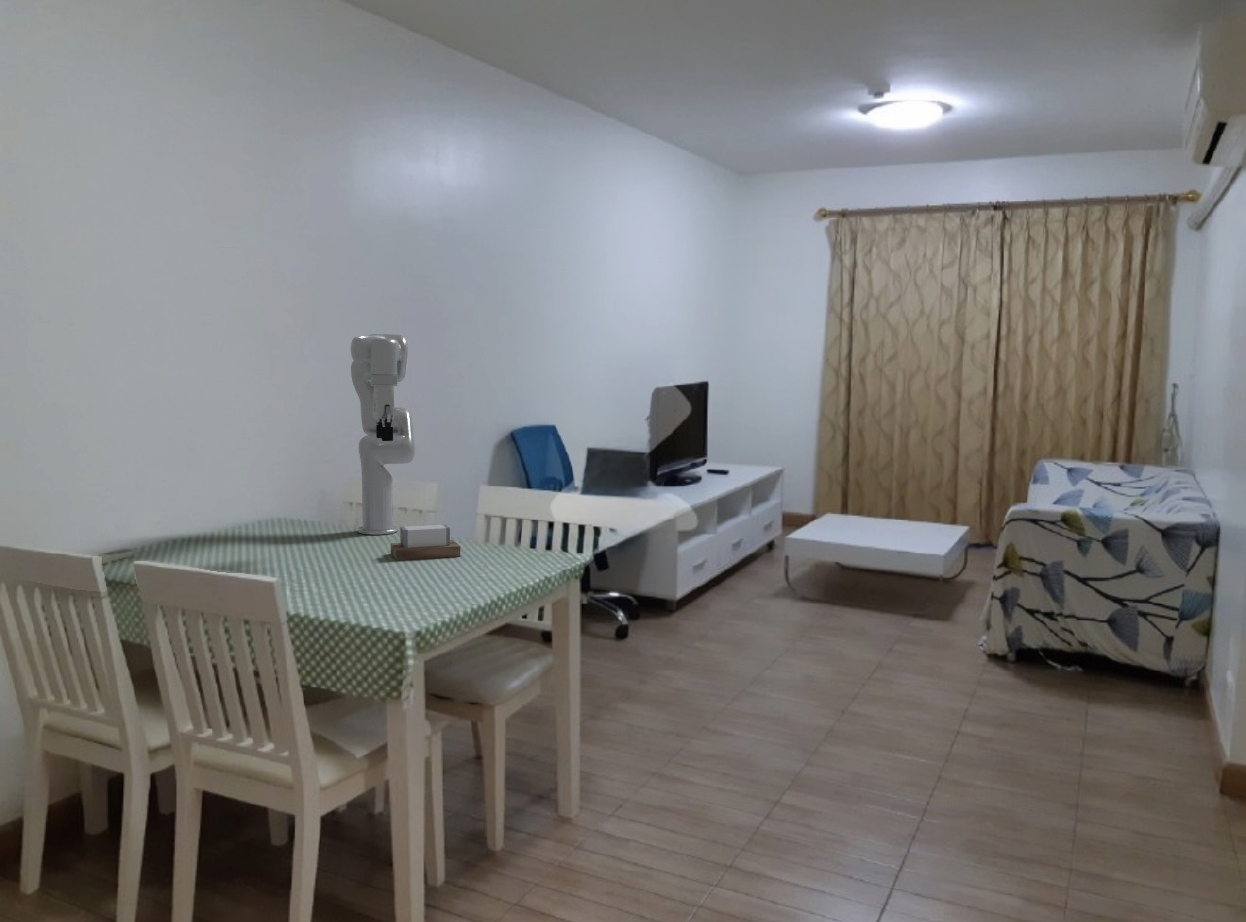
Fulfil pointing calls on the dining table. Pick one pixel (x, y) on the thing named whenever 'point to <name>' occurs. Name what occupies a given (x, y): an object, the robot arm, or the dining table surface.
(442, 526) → the block
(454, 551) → the walnut stand
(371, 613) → the dining table surface
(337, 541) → the dining table surface
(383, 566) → the dining table surface
